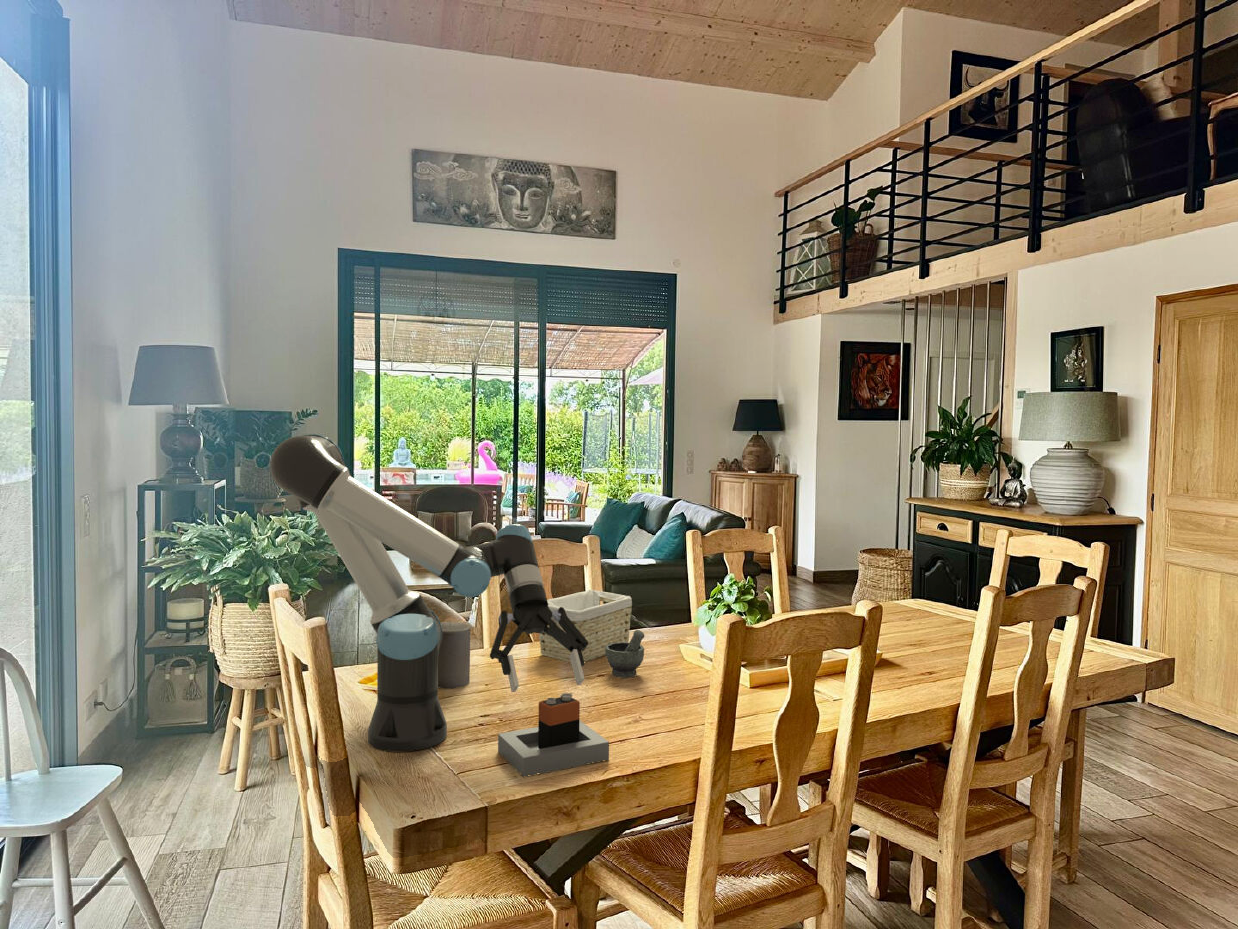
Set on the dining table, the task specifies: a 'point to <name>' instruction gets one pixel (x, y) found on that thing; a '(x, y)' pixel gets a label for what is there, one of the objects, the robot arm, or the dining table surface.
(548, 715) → the battery
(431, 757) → the dining table surface
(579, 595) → the storage basket
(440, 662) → the pillar candle
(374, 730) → the robot arm
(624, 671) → the mortar and pestle
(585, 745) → the tray
